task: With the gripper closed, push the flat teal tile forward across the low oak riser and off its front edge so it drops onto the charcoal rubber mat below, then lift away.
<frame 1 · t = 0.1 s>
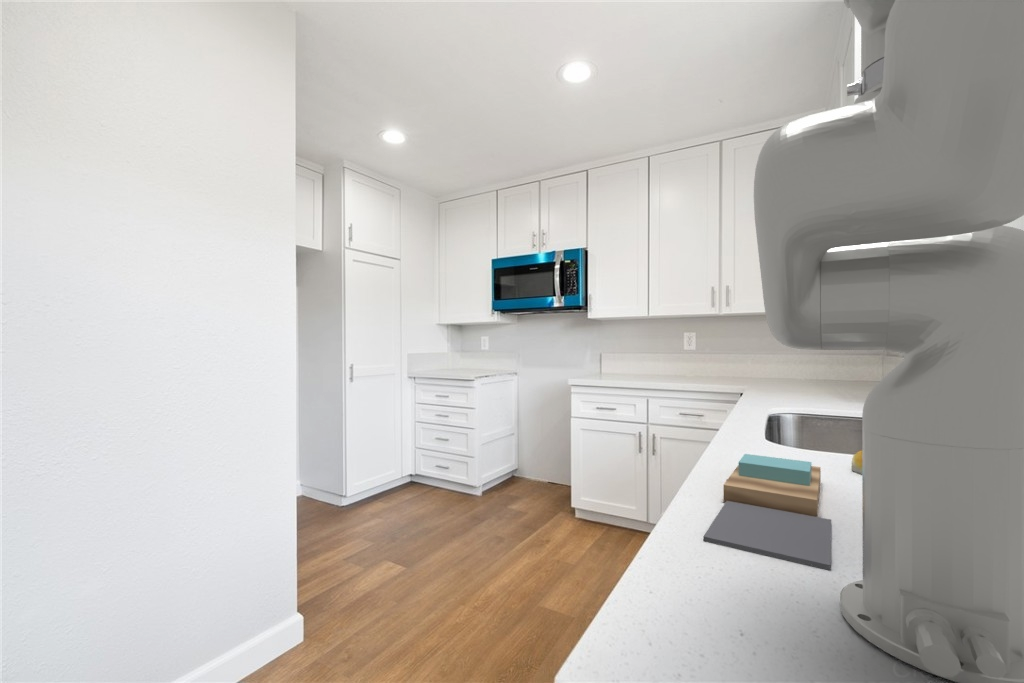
hand: (900, 224, 55), 37 cm above the counter, tool pointing down, fingers open, 9 cm apart
charcoal mat: (770, 531, 55), on the counter
bread roll: (882, 475, 78), on the counter
teal tile: (774, 468, 69), point 3 cm above the counter, touching oak riser
oak riser: (775, 491, 69), on the counter
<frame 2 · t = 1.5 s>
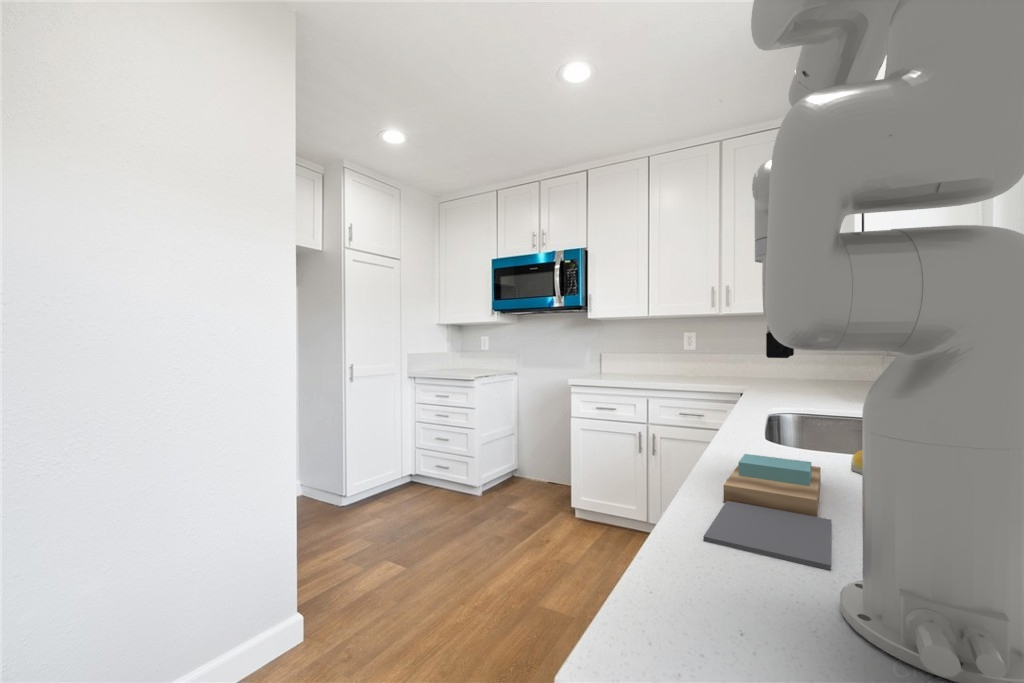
hand: (780, 356, 76), 20 cm above the counter, tool pointing down, fingers open, 7 cm apart
nothing on the counter moved.
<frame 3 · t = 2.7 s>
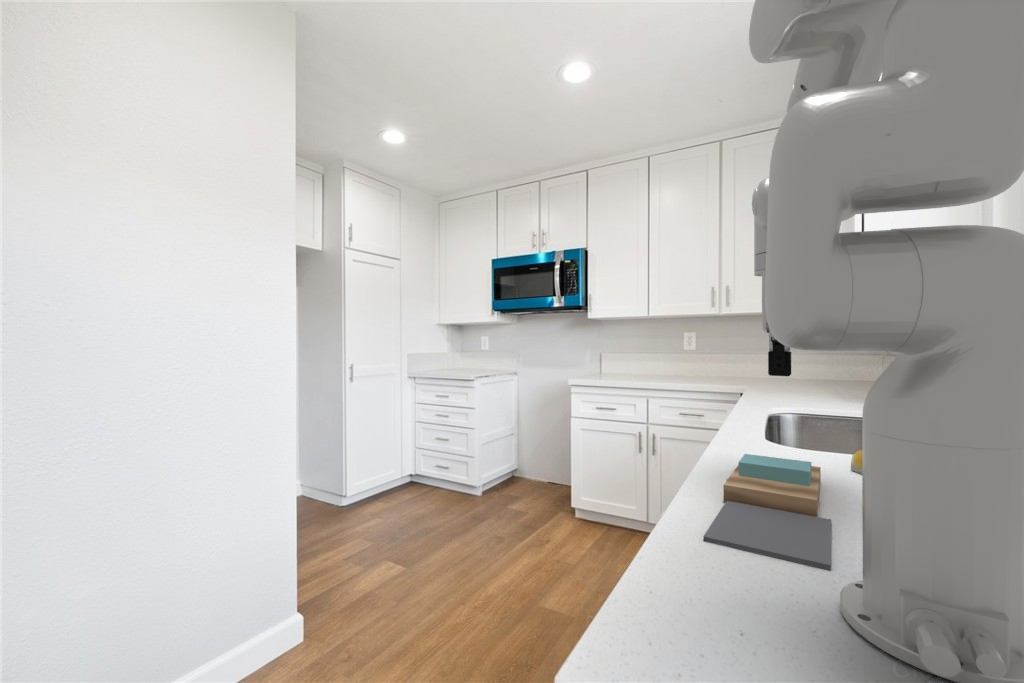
hand: (779, 375, 77), 17 cm above the counter, tool pointing down, fingers closed
nothing on the counter moved.
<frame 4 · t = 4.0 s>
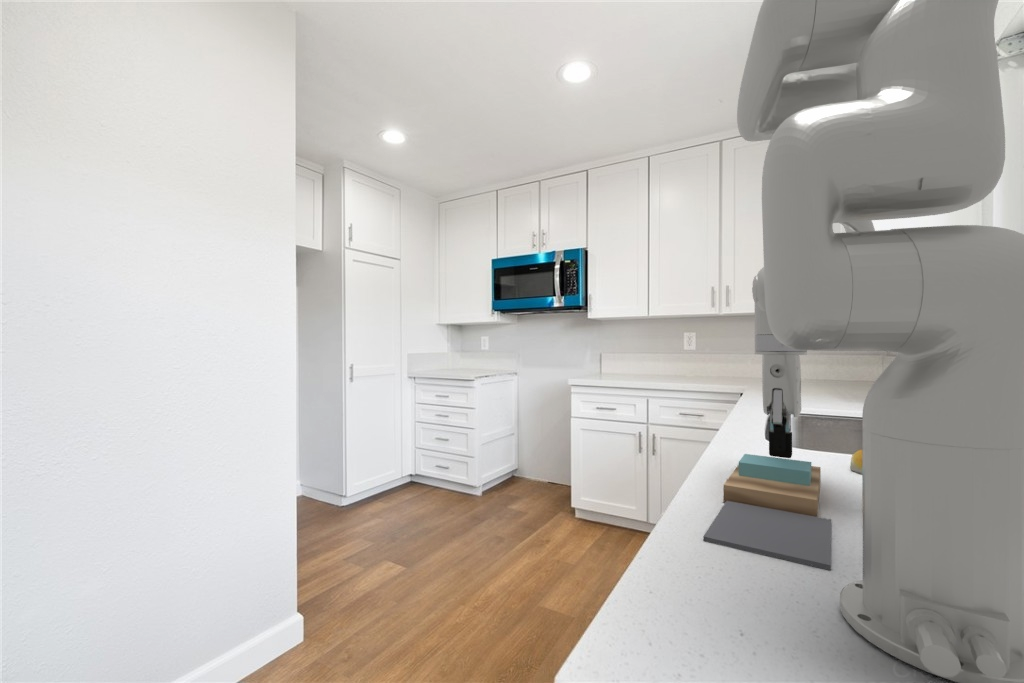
hand: (780, 455, 77), 4 cm above the counter, tool pointing down, fingers closed
nothing on the counter moved.
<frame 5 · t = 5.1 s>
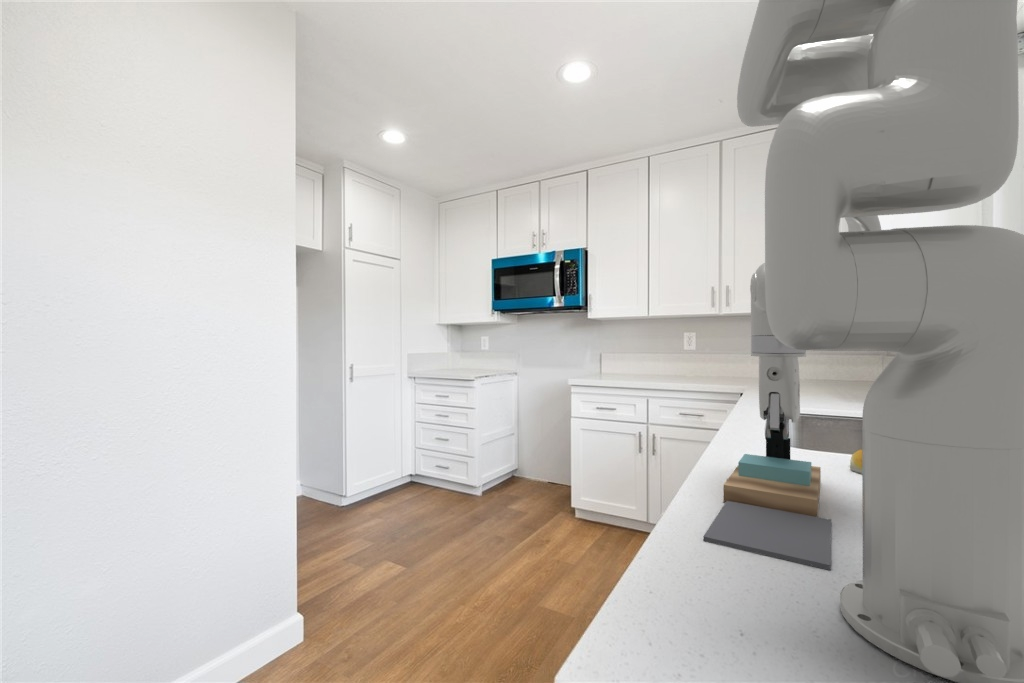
hand: (778, 462, 73), 3 cm above the counter, tool pointing down, fingers closed
teal tile: (774, 468, 69), point 4 cm above the counter, touching gripper
everything else where it was.
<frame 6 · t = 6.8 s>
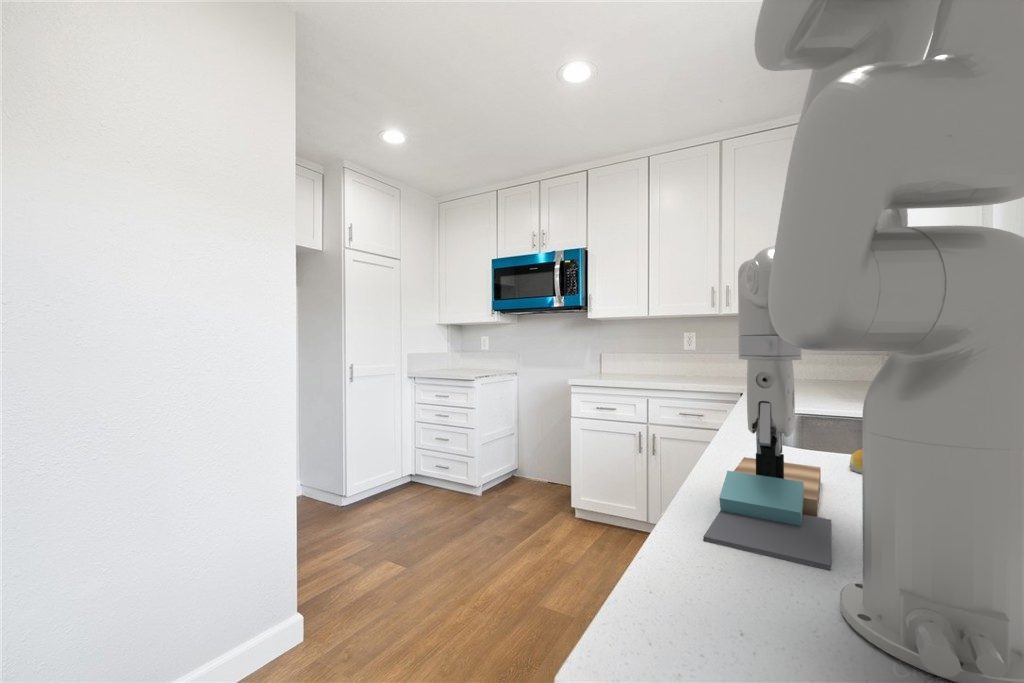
hand: (769, 482, 63), 3 cm above the counter, tool pointing down, fingers closed
teal tile: (761, 496, 60), point 3 cm above the counter, tilted 22°, touching gripper
everything else where it was.
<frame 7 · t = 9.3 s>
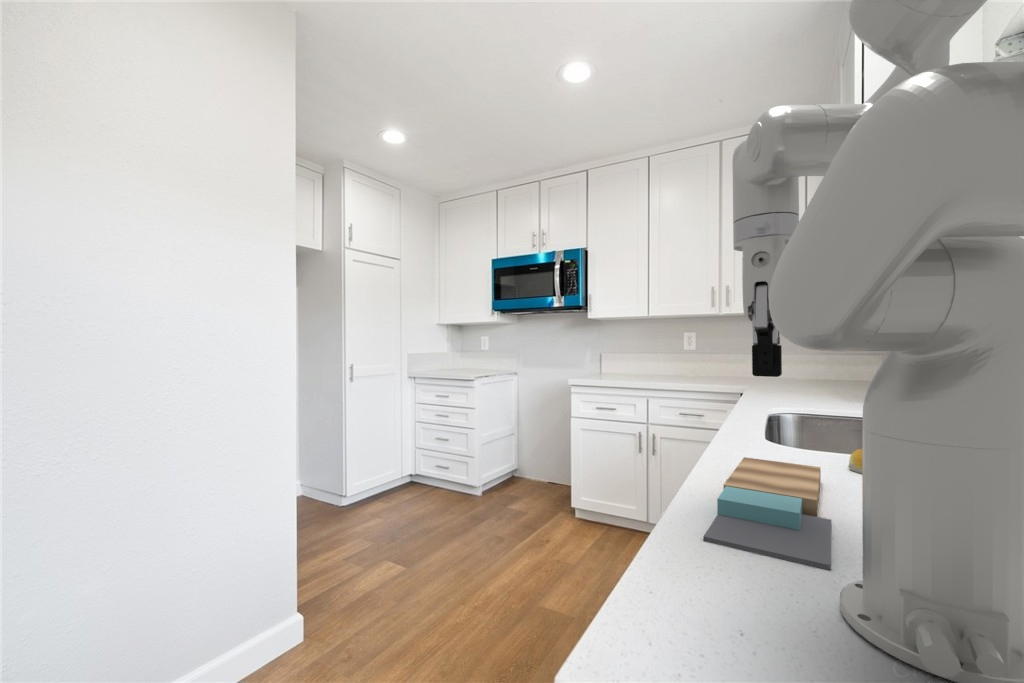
hand: (767, 375, 60), 18 cm above the counter, tool pointing down, fingers closed
teal tile: (759, 506, 59), point 1 cm above the counter, touching charcoal mat
everything else where it was.
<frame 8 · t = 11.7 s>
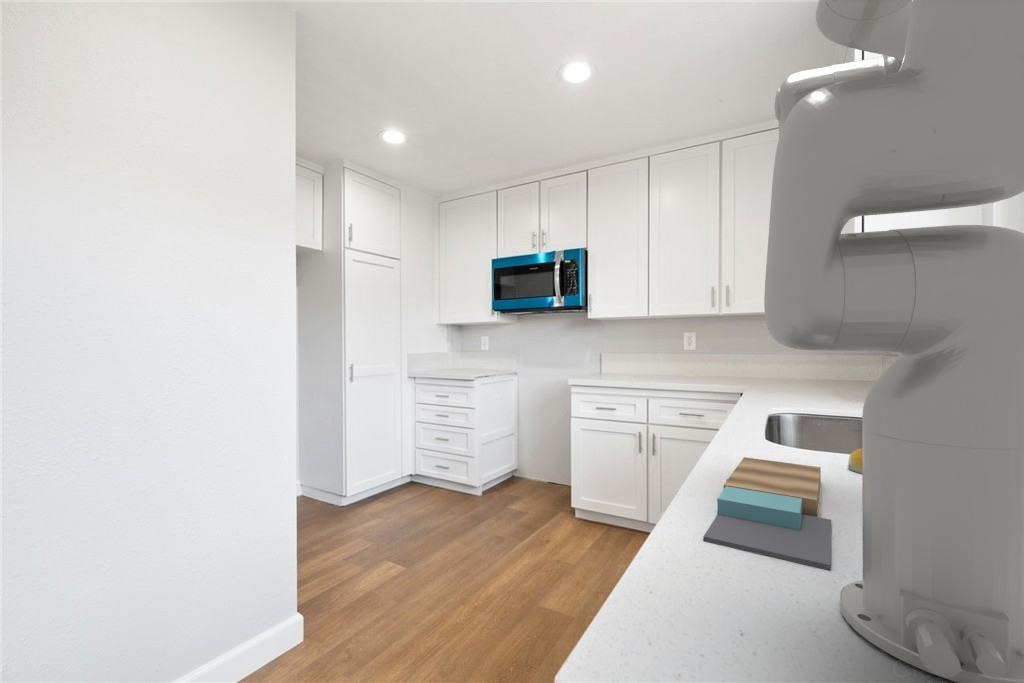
hand: (807, 299, 71), 29 cm above the counter, tool pointing down, fingers closed
nothing on the counter moved.
at the end: teal tile point 1.5 cm above the counter; teal tile inside the target area (4.3 cm from its centre), point 1.5 cm above the counter; teal tile touching charcoal mat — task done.
